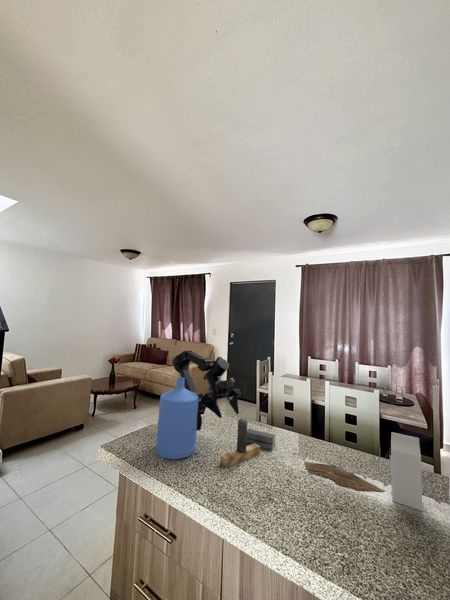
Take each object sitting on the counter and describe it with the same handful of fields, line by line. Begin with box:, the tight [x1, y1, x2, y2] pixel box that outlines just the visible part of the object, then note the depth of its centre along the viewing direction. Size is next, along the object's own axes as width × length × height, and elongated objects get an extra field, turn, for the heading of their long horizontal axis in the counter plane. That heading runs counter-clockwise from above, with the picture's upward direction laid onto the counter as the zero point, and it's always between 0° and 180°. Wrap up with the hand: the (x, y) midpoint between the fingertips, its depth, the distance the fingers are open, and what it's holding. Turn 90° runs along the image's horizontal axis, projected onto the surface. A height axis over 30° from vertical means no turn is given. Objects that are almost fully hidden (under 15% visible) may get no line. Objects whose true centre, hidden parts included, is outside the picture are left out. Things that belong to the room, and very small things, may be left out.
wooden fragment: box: [304, 461, 386, 493], centre depth 87 cm, size 26×11×1 cm, turn 53°
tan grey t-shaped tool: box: [219, 418, 261, 468], centre depth 96 cm, size 18×4×14 cm, turn 129°
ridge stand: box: [246, 428, 276, 452], centre depth 108 cm, size 12×6×4 cm, turn 66°
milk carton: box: [390, 432, 423, 512], centre depth 77 cm, size 7×7×19 cm
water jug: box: [155, 376, 199, 460], centre depth 100 cm, size 16×16×28 cm
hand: (229, 415), depth 103 cm, fingers open, 9 cm apart
